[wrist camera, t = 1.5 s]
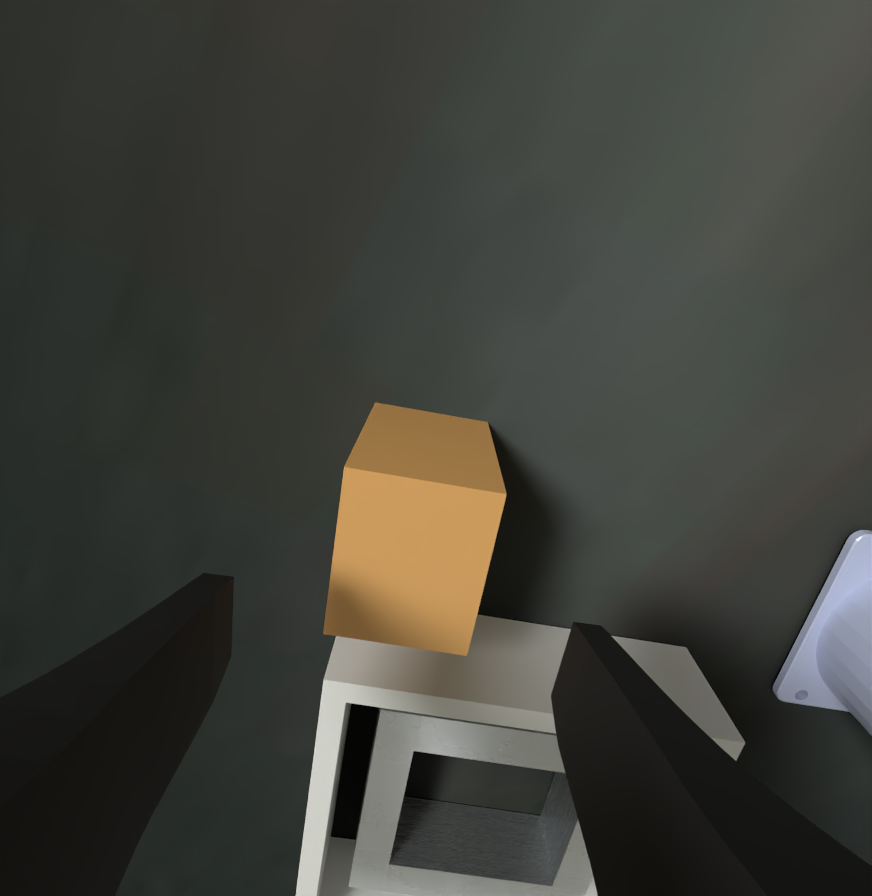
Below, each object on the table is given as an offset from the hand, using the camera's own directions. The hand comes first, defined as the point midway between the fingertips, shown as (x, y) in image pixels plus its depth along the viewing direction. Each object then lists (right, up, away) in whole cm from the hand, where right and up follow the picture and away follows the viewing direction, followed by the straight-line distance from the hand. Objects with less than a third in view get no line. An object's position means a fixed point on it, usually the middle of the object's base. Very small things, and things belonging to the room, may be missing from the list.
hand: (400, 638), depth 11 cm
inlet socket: (+3, -10, +13) cm, 16 cm away
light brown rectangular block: (0, +3, +8) cm, 9 cm away
